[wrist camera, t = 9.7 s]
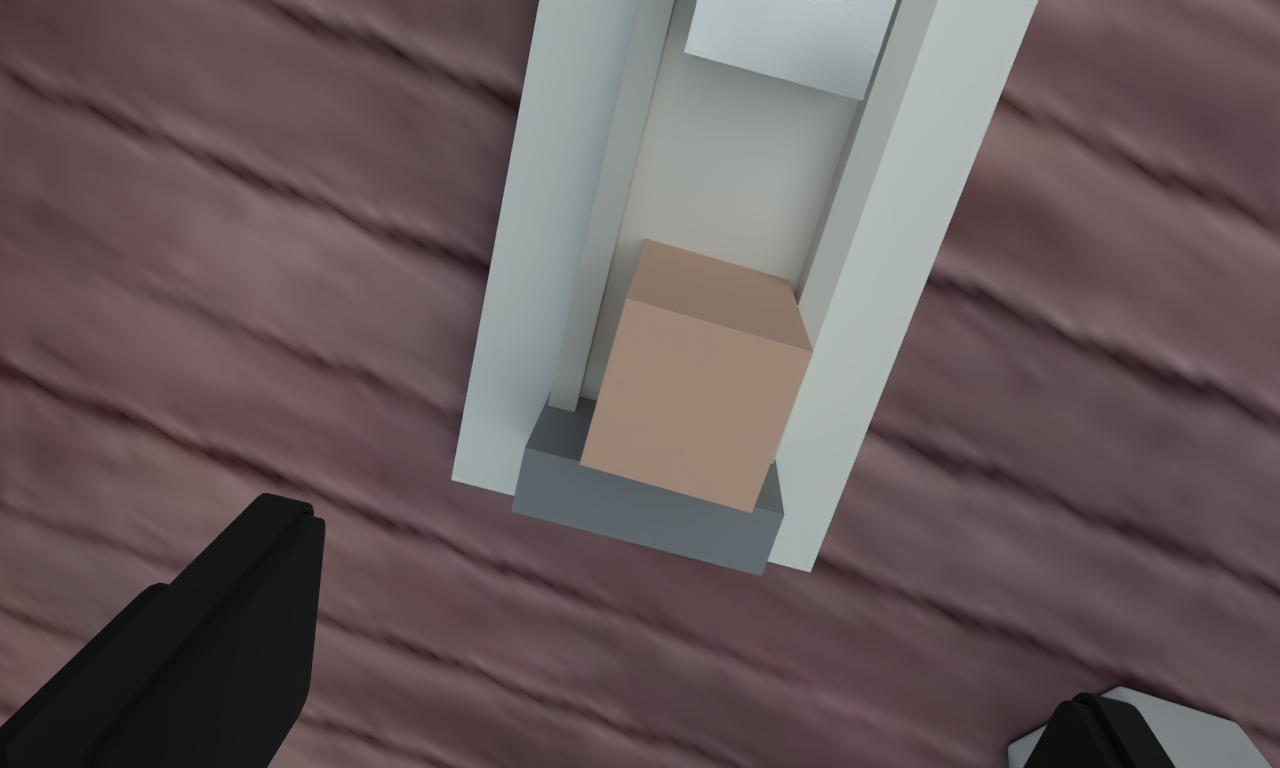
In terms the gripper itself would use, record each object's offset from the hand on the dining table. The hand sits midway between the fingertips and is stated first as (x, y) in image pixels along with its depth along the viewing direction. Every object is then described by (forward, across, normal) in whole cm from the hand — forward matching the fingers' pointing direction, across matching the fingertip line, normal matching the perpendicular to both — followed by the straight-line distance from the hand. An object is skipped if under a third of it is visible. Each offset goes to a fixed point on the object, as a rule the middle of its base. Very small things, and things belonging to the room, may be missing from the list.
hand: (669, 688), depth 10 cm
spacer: (+15, 0, 0) cm, 15 cm away
